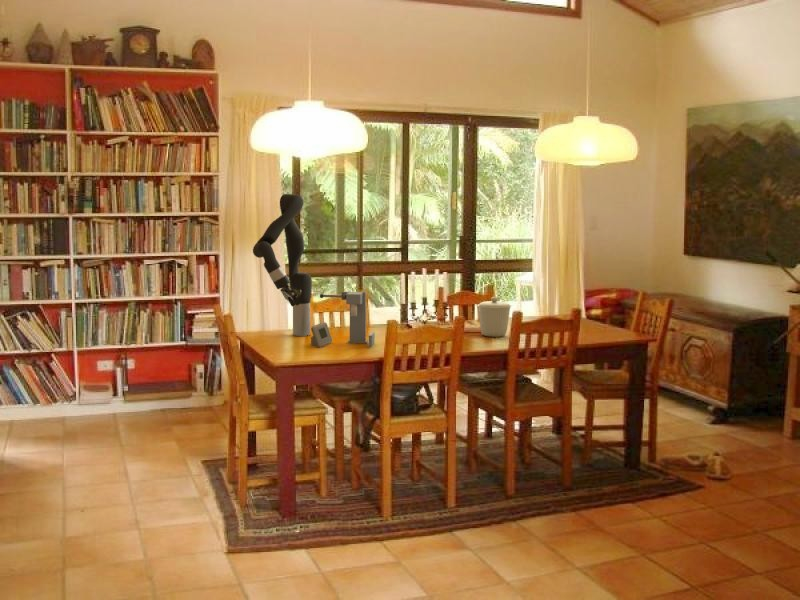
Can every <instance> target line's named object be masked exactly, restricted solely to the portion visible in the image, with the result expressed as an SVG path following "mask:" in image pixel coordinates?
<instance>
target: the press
mask: <svg viewBox="0 0 800 600" xmlns="http://www.w3.org/2000/svg"><path fill="white" fill-rule="evenodd" d="M343 294H346V299H343V298H341V300H342V301H346V303H345V304H346V305H349V339H348V340H347V344H348V343H368V348H369V347H372V346H373V347H374V345H375V334H376V333H375V332H376V331H375V332H374V331H372V332H371V331H370V333H369V334H368V340H367V323H366V322H367V292H366V291H365V292H364V291H341V295H343ZM373 347H372V348H373Z"/></svg>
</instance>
